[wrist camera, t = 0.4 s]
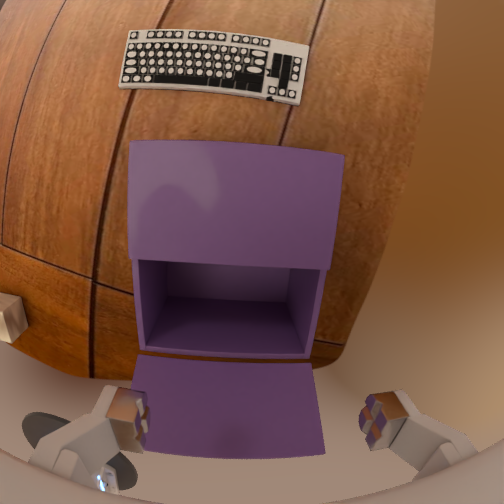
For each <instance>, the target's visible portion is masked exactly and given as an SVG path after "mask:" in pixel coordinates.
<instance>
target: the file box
mask: <svg viewBox="0 0 504 504" xmlns="http://www.w3.org/2000/svg"><path fill="white" fill-rule="evenodd" d="M344 157H345V155H341V154H337V153H331V152H324V151H317V150H310V149H302V148H294V147H285V146H275V145H265V144H254V143H240V142H225V141H203V140H133V141H130V147H129V166H128V253H129V259H132V273H133V287H134V299H135V310H136V320H137V329H138V337H139V345H140V350H145V351H153V352H162V353H172V354H183V355H195V356H209V357H227V358H257V359H303V358H310V353H311V349H312V344H313V340H314V335H315V330H316V325H317V320H318V315H319V310H320V305H321V300H322V294H323V289H324V283H325V277H326V271H327V270H330V266H331V260H332V254H333V247H334V241H335V234H336V227H337V219H338V212H339V204H340V196H341V187H342V178H343V168H344Z"/></svg>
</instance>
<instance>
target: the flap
mask: <svg viewBox="0 0 504 504" xmlns="http://www.w3.org/2000/svg"><path fill="white" fill-rule="evenodd" d="M131 389H132V390H137V391H143V392H146V393H147V397H148V401H147V406H148V407H149V408H150V427H149V431H148V432H147V433H145V438H146V443H145V447H144V450H145V451H151V452H158V453H165V454H173V455H182V456H192V457H204V458H222V459H271V458H272V459H273V458H291V457H303V456H314V455H323V454H325V446H324V439H323V433H322V426H321V420H320V413H319V407H318V401H317V395H316V389H315V383H314V377H313V371H312V365H311V363H234V362H214V361H199V360H186V359H175V358H165V357H156V356H147V355H139V354H138V358H137V362H136V367H135V371H134V375H133V380H132V384H131Z"/></svg>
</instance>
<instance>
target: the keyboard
mask: <svg viewBox="0 0 504 504" xmlns="http://www.w3.org/2000/svg"><path fill="white" fill-rule="evenodd" d="M308 51H309V46H306V45H302V44H297V43H293V42H288V41H283V40H278V39H272V38H266V37H260V36H254V35H246V34H238V33H229V32H219V31H206V30H183V29H155V30H132V31H129V35H128V39H127V44H126V48H125V53H124V58H123V63H122V68H121V74H120V80H119V86H118V87H119V88H120V89H163V90H183V91H197V92H208V93H218V94H227V95H235V96H242V97H249V98H256V99H262V100H268V101H273V102H279V103H284V104H289V105H294V106H299V104H300V99H301V93H302V87H303V81H304V75H305V69H306V63H307V57H308Z"/></svg>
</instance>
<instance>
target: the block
mask: <svg viewBox="0 0 504 504" xmlns="http://www.w3.org/2000/svg"><path fill="white" fill-rule="evenodd" d="M27 328H28V323H27V319H26V315H25V311H24V307H23V303H22V299H21V297H20V296H15V295H10V294H5V293H0V340H2V341H6V342H9V343H13V342H14V341H15V340H16V339H17V338H18V337H19V336H20V335H21V334H22V333H23V332H24V331H25V330H26V329H27Z"/></svg>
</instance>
